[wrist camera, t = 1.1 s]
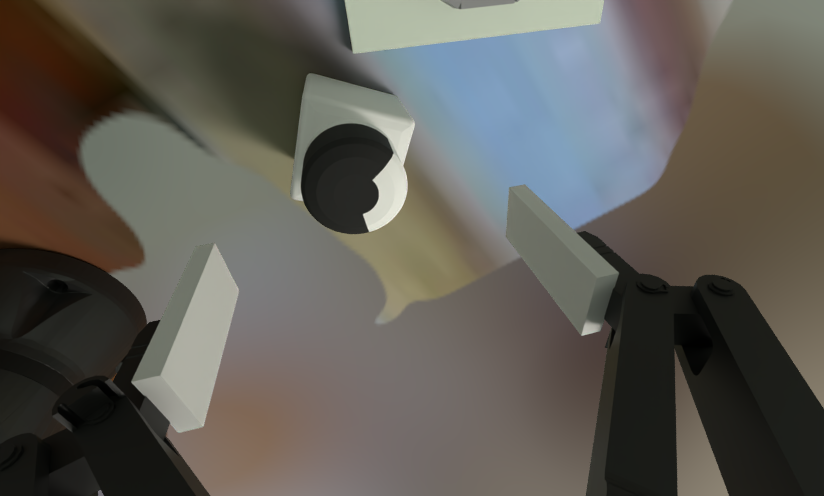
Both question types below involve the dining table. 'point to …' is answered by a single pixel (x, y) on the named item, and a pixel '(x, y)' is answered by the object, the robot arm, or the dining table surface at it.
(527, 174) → the dining table surface
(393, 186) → the medicine bottle
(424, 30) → the socket board
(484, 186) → the dining table surface
